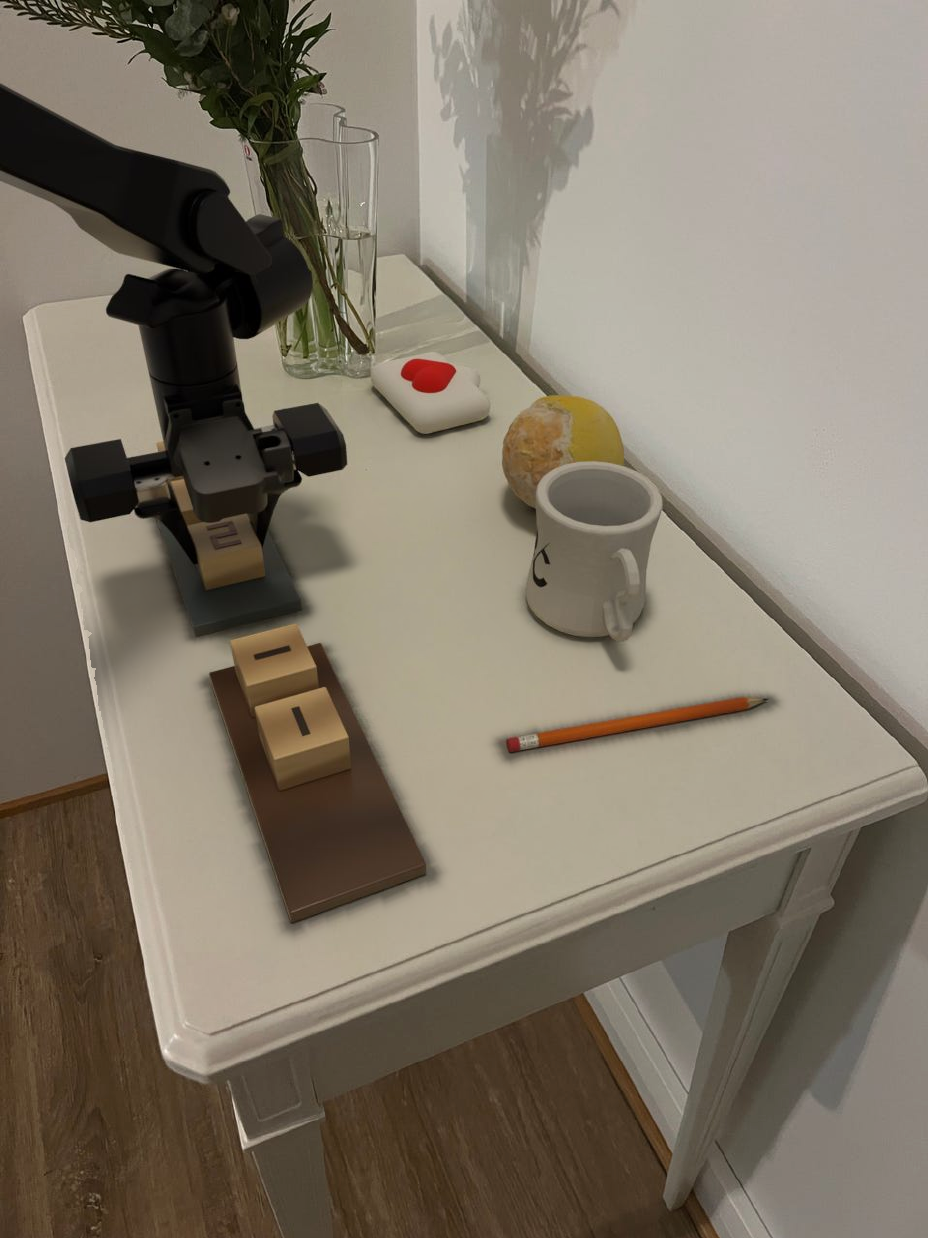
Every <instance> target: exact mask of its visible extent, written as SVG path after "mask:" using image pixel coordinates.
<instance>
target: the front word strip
mask: <svg viewBox="0 0 928 1238" xmlns="http://www.w3.org/2000/svg"><path fill="white" fill-rule="evenodd" d="M229 645H230V650H231V655H232V661H233V666H228V667H224V668H221V669H217V670H213V671H209V673H208V675H209V676H208V677H209V680H210V681H209V682H210V685H211V688H212V690H213V693H214V696H215V699H216V703H217V705H218V708H219V712H220V714H221V717H222V720H223V723H224V727H225V730H226V732H227V735H228V738H229V741H230V745H231V747H232V750H233V753H234V756H235V760H236V762H237V765H238V768H239V772H240V774H241V777H242V780H243V783H244V786H245V789H246V792H247V795H248V797H249V801H250V804H251V807H252V810H253V814H254V816H255V819H256V822H257V825H258V828H259V831H260V834H261V837H262V841H263V842H264V845H265V850H266V852H267V855H268V858H269V861H270V864H271V868H272V870H273V874H274V875H275V879H276V882H277V885H278V887H279V891H280V894H281V897H282V900H283V903H284V906H285V909H286V912H287V915H288V918H289V921H290V922H291V923H295V922H297V921H298V922H299V921H301V920H303V919H307V918H309V917H312V916H314V915H318V914H320V913H323V912H325V911H328V910H331V909H334V908H336V907H339V906H342V905H345V904H347V903H351V902H353V901H357V900H359V899H361V898H364V897H367V896H369V895H372V894H375V893H377V892H380V891H383V890H386V889H388V888H391V887H395V886H397V885H399V884H402V883H405V882H407V881H410V880H414V879H416V878H419V877H421V876H424V875H426V874H427V862H426V861H425V859H424V856H423V855H422V852H421V851H420V850H421V849H420V848H419V846H418V843H417V841H416V840H415V838H414V835H413V833H412V831H411V829H410V827H409V825H408V823H407V821H406V818H405V816H404V814H403V812H402V811H401V808H400V806H399V804H398V801H397V800H396V798H395V795H394V793H393V791H392V790H391V786H390V784H389V783H388V781H387V779H386V777H385V774H384V773H383V772H384V771H382V768H381V766H380V763H379V761H378V760H377V758H376V755H375V753H374V752H373V749H372V747H371V745H370V742H369V741H368V739H367V736H366V735H365V732H364V730H363V728H362V726H361V724H360V722H359V720H358V718H357V716H356V714H355V713H356V712H354V709H353V707H352V705H351V702H350V701H349V699H348V697H347V694H346V693H345V690H344V689H343V686H342V684H341V682H340V679H339V677H338V675H337V673H336V671H335V670H334V667H333V665H332V663H331V660H330V659H329V657H328V655H327V652H326V650H325V648H324V646H323V644H322V642H317V643H314V644H310V645H307V643H306V641H305V638H304V636H303V634H302V632H301V630H300V627H299V626H298V623H292V624H288V625H284V626H281V627H277V628H273V629H269V630H265V631H261V632H256V633H254V634H250V635H246V636H241V637H238V638H234V639H231V640H230V641H229Z"/></svg>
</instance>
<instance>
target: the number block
mask: <svg viewBox="0 0 928 1238" xmlns="http://www.w3.org/2000/svg"><path fill="white" fill-rule="evenodd" d="M187 527H188V529H189V532H190V535H191V537H192V540H193V543H194V545H195V548H196V554H197V560H198V564H197V567H198V570H199V573H200V575H201V578H202V581H203V584H204V586H205V589H206V590H210V589H214V588H218V587H223V586H227V585H231V584H235V583H239V582H243V581H248V580H252V579H256V578H260V577H264V576H265V568H264V561H263V554H262V548H261V544H260V542H259V540H258V538H257V535H256V533H255V531H254V529H253V527H252V525H251V523H250V520H249V518H248V516H247V514H242V515H238V516H233V517H228V518H224V519H222V520H221V521H218V522H213V523H206V522H202V523H197V524H193V525H188V526H187Z"/></svg>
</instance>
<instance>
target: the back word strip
mask: <svg viewBox="0 0 928 1238" xmlns="http://www.w3.org/2000/svg"><path fill="white" fill-rule="evenodd" d="M155 444H156V449H157V452H161V451H164V450H165V447H164V442H163V441H158V442H156V443H155ZM170 483H171V486H172V488H173V491H174V493H175V496H176V499H177V501H178V504H179V506H180V509H181V511H182V514H183V517H184V519H185V522H186V524H187V526H188V525H193V524H197V523H202V521H200V520H199V519H198V518H197V517H196V516H195V514H194V511H193V507H192V503H191V500H190V497H189V494H188V491H187V488H186V485H185V482H184V478H178V479H173V480H170ZM247 516H248V518H249V520H250V516H249V514H247ZM155 520H156V523H157V525H158V528H159V532H160V534H161V538H162V541H163V543H164V547H165V550H166V552H167V555H168V558H169V561H170V564H171V567H172V571H173V573H174V577H175V579H176V582H177V585H178V588H179V591H180V594H181V598H182V599H183V600H182V601H183V604H184V607H185V609H186V612H187V615H188V618H189V622H190V624H191V627H192V631H193V633H194V636H195V637H200V636H204V635H209V634H212V633H216V632H220V631H224V630H227V629H231V628H232V629H233V628H236V627H240V626H243V625H247V624H252V623H255V622H260V621H263V620H268V619H271V618H275V617H280V616H283V615H286V614H290V613H291V614H292V613H295V612H298V611H302V610H303V607H302V606H303V605H302V599H301V597H300V595H299V593H298V592H297V591H298V590H297V589H296V587H295V584H294V583H293V580H292V578H291V577H290V574H289V572H288V570H287V568H286V566H285V564H284V561H283V559H282V557H281V555H280V554H279V551H278V549H277V547H276V545H275V543H274V540H273V538H272V537H271V535H270V533H269V530H268V531H267V534H266V538H265V541H264V545H263V548H262V554H263V561H264V568H265V576H264V577H260V578H256V579H252V580H248V581H243V582H239V583H235V584H231V585H227V586H223V587H218V588H214V589H210V590H206V589H205V586H204V584H203V581H202V578H201V575H200V573H199V570H198V567H197V564H195V565H194V564H193V563H192V562H191V560H190V559H189V557H188V556H187V554H186V553H185V552H184V550H183V549H182V547H181V546H180V544H179V543H178V542H177V540H176V539H175V537H174V536H173V534H172V533H171V532H170V531H169V530H168V529H167V528H166V526H165V525H164V524H163V523H162V522H161V521H159V520H158V519H155Z"/></svg>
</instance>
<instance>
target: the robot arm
mask: <svg viewBox="0 0 928 1238" xmlns="http://www.w3.org/2000/svg"><path fill="white" fill-rule="evenodd" d="M0 182H2V183H4V184H7V185H9V186H11V187H13V188H16V189H18V190H21V191H23V192H25V193H28V194H31V195H33V196H35V197H37V198H40V199H41V200H45V201H47V202H49V203H51V204H53V205H55V206H56V207H58V208H59V209H61V210H62V211H63V212H65V213H67V214H68V215H69V216H70V217H71V218H72V220H73V221H74V222H75V224H76V225H77V227H78V228H79V229H80V230H82V231H84V232H85V233H86V234H88V235H89V236H91V237H92V238H94V239H96V240H97V241H98V242H100V243H101V244H103V245H104V246H106V247H107V248H109V249H110V250H112V251H113V252H116V253H117V254H119V255H124V256H128V257H130V258H135V259H139V260H142V261H145V262H146V261H147V262H150V263H154V264H159V265H163V266H167V267H170V268H167V269H164V270H162V271H160V272H158V273H156V274H154V275H152V276H150V277H143V276H139V275H135V274H132V273H126V274H125V275H124V277H123V281H122V283H121V285H120V287H119V288H118V290H117V291H116V292H114V294H113V295H112V297H111V298H110V300H109V301H108V304H107V305H106V308H105V313H106V315H107V316H108V317H109V318H112V319H116V320H119V321H123V322H126V323H129V324H134V325H137V326H138V331H139V334H140V339H141V343H142V344H141V345H142V350H143V353H144V359H145V362H146V366H147V367H146V368H147V371H148V375H149V381H150V386H151V391H152V396H153V400H154V404H155V409H156V414H157V420H158V423H159V427H160V433H161V436H162V437H161V438H162V440H163V441H162V442H164V447H165V450H164V451H161V452H158V451H155V452H150V453H146V454H141V455H135V456H129V457H127V454H126V451H125V447H124V445H123V441H122V439H121V438H117V439H113V440H108V441H107V440H106V441H102V442H97V443H91V444H90V443H89V444H85V445H80V446H75V447H74V446H73V447H70V449H69V450H68V452H67V454H66V455H65V457H64V462H65V466H66V471H67V476H68V480H69V484H70V487H71V491H72V495H73V499H74V503H75V505H76V510H77V513H78V516H79V519H80V520H81V521H84V522H88V523H94V522H100V521H104V520H108V519H114V518H119V517H123V516H128V515H130V514H131V513H132V512H133V511H134V514H135V516H136V517H137V518H139V519H141V520H145V519H146V520H147V519H151V518H152V519H155V520H156V519H158V520H159V521H161V522H162V523H163V524H164V525H165V526H166V528H167V529H168V530H169V531H170V532H171V533H172V534H173V536H174V537H175V539H176V540H177V542H178V543H179V544H180V546H181V547H182V549H183V550H184V552H185V553H186V554H187V556H188V557H189V559H190V560H191V562H192V563H193V564H194V565H195V564H198V560H197V554H196V548H195V545H194V543H193V540H192V537H191V535H190V532H189V529H188V527H187V524H186V522H185V519H184V517H183V514H182V511H181V509H180V506H179V504H178V501H177V499H176V496H175V493H174V491H173V488H172V486H171V483H170V480H173V479H178V478H184V482H185V485H186V488H187V491H188V494H189V497H190V500H191V503H192V507H193V511H194V514H195V516H196V517H197V518H198V519H199V520H200V521H202V522H206V523H213V522H218V521H221V520H222V519H224V518H228V517H233V516H238V515H242V514H249V516H250V523H251V525H252V527H253V529H254V531H255V533H256V535H257V538H258V540H259V542H260V544H261V548H263V545H264V541H265V538H266V534H267V531H268V532H269V528H270V524H271V520H272V517H273V514H274V510H275V509H276V506H277V504H278V502H279V500H280V497H281V495H282V494H284V493H285V492H286V491H288V490H290V489H292V488H297V487H298V486H300V485H301V484H302V481H303V477H302V475H301V474H303V475H304V476H306V477H308V478H310V477H315V476H320V475H324V474H330V473H333V472H339V471H343V470H344V469H345V468H346V467H347V466H348V455H347V454H348V453H347V452H348V450H347V444H346V440H345V436H344V433H343V432H342V429H340V427H339V426H338V425H337V423H336V421H335V420H334V418H333V416H332V415H331V414H330V413H329V411H328V409H327V408H325V407H324V406H323V405H322V404H321V403H319V402H315V403H309V404H303V405H298V406H291V407H287V408H281V409H277V410H273V412H272V424H271V425H265V426H260V427H254V426H253V423H252V422H251V420H250V418H249V416H248V415H247V413H246V407H245V403H244V399H243V393H242V387H241V380H240V373H239V366H238V359H237V352H236V346H235V339H238V340H250V339H252V338H255V337H257V336H259V335H260V334H262V333H263V332H265V331H267V330H268V329H270V328H271V327H273V326H275V325H276V324H278V323H280V322H281V321H283V320H285V319H286V318H287V317H290V316H291V315H293V314H294V313H295V312H297V311H299V310H300V309H302V308H304V306H306V305H307V304H308V302H309V300H310V299H311V296H312V292H313V289H314V288H313V287H314V278H313V272H312V269H310V268H309V265H308V262H307V260H306V259H305V256H304V254H303V253H302V251H301V250H300V249H299V248H298V246H297V245H296V244H295V243H294V242H293V241H292V240H291V239H290V238H289V237H287V236H286V235H285V227H284V225H285V224H284V220H283V219H281V218H278V217H274V216H270V215H264V214H260V213H258V214H256V215H254V216H252V217H250V218H249V219H247V220H245V218H244V217H243V215H242V214H241V213H240V212H239V210H238V209H237V208H236V206H235V205H234V204H233V202H232V200H231V199H230V198H229V197H230V194H231V189H230V186H229V185H228V183H227V181H226V180H225V179H224V178H223V177H222V176H221V175H220V174H219V173H217V172H216V171H215V170H212V169H210V168H207V167H203V166H199V165H195V164H192V163H187V162H184V161H180V160H177V159H172V158H169V157H165V156H161V155H157V154H152V153H148V152H144V151H140V150H135V149H132V148H128V147H124V146H120V145H117V144H114V143H112V142H111V141H109V140H107V139H106V138H104V137H101V136H99V135H98V134H96V133H94V132H92V131H90V130H88V129H86V128H85V127H83V126H81V125H79V124H77V123H75V122H73V121H71V120H70V119H68V118H65V117H64V116H62V115H61V114H58V113H57V112H55V111H54V110H53V111H52V110H51V109H49V108H48V107H45V106H44V105H42V104H40V103H38V102H37V101H34V100H32V99H31V98H29V97H27V96H25V95H23V94H21V93H20V92H17V90H16V91H15V89H12V88H10V87H8V86H7V85H4V83H1V82H0Z"/></svg>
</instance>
